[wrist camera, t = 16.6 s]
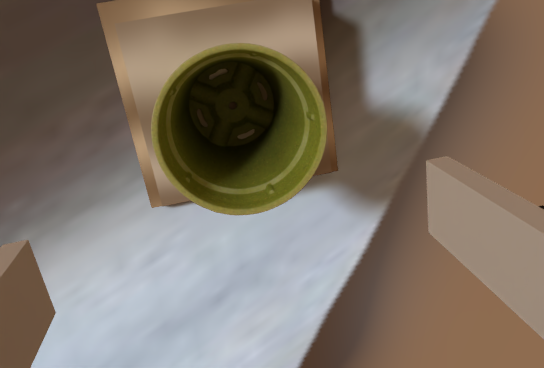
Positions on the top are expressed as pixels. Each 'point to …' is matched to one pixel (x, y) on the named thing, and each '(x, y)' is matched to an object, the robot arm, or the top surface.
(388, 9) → the top surface
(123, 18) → the pedestal base
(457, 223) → the robot arm
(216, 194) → the plant pot
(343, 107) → the top surface
